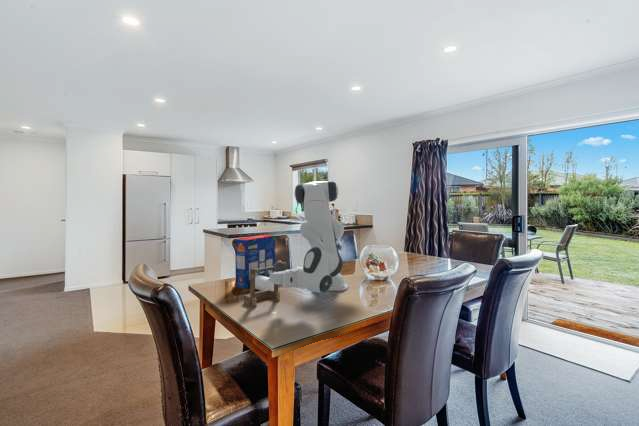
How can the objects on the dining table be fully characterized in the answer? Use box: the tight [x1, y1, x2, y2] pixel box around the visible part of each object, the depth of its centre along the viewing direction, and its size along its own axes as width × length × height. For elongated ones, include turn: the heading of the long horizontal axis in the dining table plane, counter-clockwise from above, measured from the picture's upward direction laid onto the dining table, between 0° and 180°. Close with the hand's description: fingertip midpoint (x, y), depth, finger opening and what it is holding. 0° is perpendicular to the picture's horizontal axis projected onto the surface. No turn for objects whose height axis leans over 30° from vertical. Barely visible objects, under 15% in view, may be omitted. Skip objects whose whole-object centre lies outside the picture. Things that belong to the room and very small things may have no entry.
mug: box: [255, 275, 274, 291], centre depth 179 cm, size 12×10×8 cm
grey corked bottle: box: [275, 260, 288, 287], centre depth 147 cm, size 5×5×11 cm
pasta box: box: [234, 234, 276, 290], centre depth 194 cm, size 28×8×28 cm, turn 153°
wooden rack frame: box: [243, 263, 281, 308], centre depth 158 cm, size 8×16×18 cm, turn 136°
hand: (279, 272), depth 148 cm, fingers closed on grey corked bottle, 5 cm apart
